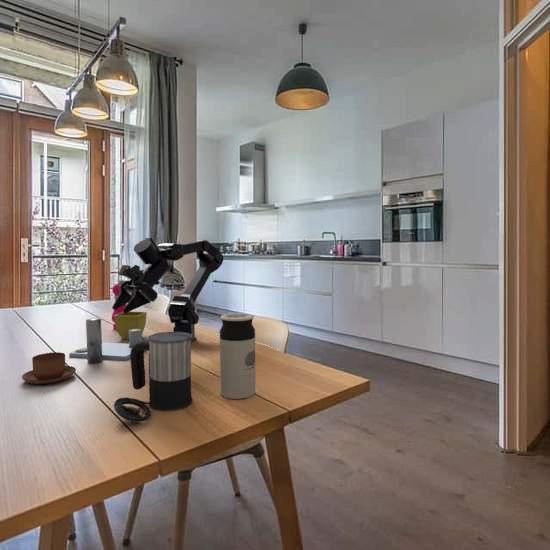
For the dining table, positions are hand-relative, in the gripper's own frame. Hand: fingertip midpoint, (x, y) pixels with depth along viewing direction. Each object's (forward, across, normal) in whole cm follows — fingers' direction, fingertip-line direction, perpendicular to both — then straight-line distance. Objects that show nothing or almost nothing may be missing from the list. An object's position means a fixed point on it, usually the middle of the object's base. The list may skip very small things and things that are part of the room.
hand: (118, 310), depth 125 cm
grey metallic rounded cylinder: (+15, +2, +5) cm, 16 cm away
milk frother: (+17, +46, +5) cm, 49 cm away
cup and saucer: (+26, +10, -4) cm, 28 cm away
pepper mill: (-2, -41, +20) cm, 46 cm away
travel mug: (+3, +50, +17) cm, 53 cm away
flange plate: (+10, -6, +10) cm, 15 cm away
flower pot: (+1, -22, +18) cm, 29 cm away
